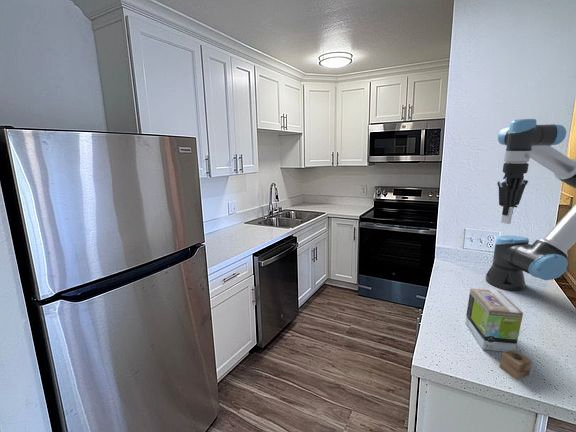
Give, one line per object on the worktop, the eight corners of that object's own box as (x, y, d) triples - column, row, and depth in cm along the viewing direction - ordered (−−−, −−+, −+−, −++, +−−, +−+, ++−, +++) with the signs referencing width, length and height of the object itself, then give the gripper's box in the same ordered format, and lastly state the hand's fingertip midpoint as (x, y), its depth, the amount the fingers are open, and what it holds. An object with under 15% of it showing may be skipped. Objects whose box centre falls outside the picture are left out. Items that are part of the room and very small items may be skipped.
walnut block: (511, 363, 90) (514, 348, 89) (528, 375, 86) (532, 360, 84) (499, 367, 89) (502, 352, 88) (516, 379, 84) (519, 364, 83)
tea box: (516, 353, 94) (524, 312, 90) (482, 350, 96) (488, 310, 92) (493, 325, 108) (499, 289, 105) (463, 322, 110) (469, 287, 107)
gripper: (513, 163, 105) (502, 227, 110) (539, 162, 108) (527, 223, 114) (493, 162, 112) (484, 222, 117) (518, 161, 115) (508, 219, 121)
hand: (505, 222), depth 116 cm, fingers closed
